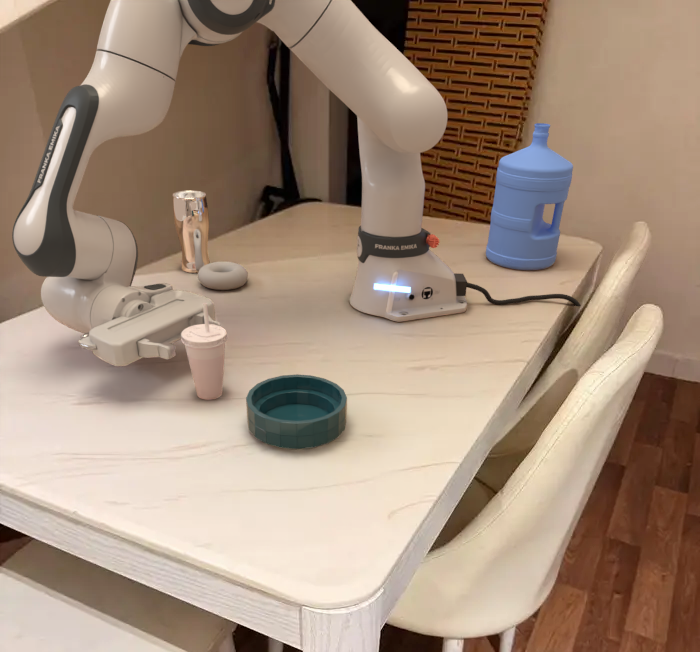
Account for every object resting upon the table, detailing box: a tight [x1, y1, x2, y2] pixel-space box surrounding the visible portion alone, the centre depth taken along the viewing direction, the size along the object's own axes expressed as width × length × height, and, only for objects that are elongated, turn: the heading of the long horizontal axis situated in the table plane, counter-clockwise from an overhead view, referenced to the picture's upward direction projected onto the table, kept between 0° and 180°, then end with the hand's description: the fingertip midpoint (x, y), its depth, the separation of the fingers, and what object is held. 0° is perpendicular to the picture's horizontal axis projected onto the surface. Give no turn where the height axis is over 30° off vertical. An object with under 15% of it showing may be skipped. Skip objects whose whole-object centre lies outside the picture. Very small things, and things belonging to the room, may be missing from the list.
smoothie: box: [180, 303, 228, 401], centre depth 99 cm, size 6×6×14 cm
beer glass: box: [172, 189, 211, 274], centre depth 144 cm, size 7×7×15 cm
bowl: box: [245, 373, 348, 450], centre depth 95 cm, size 13×13×4 cm
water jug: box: [485, 122, 574, 271], centre depth 151 cm, size 16×16×28 cm
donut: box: [197, 261, 249, 291], centre depth 140 cm, size 10×3×10 cm
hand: (195, 340), depth 100 cm, fingers open, 8 cm apart
